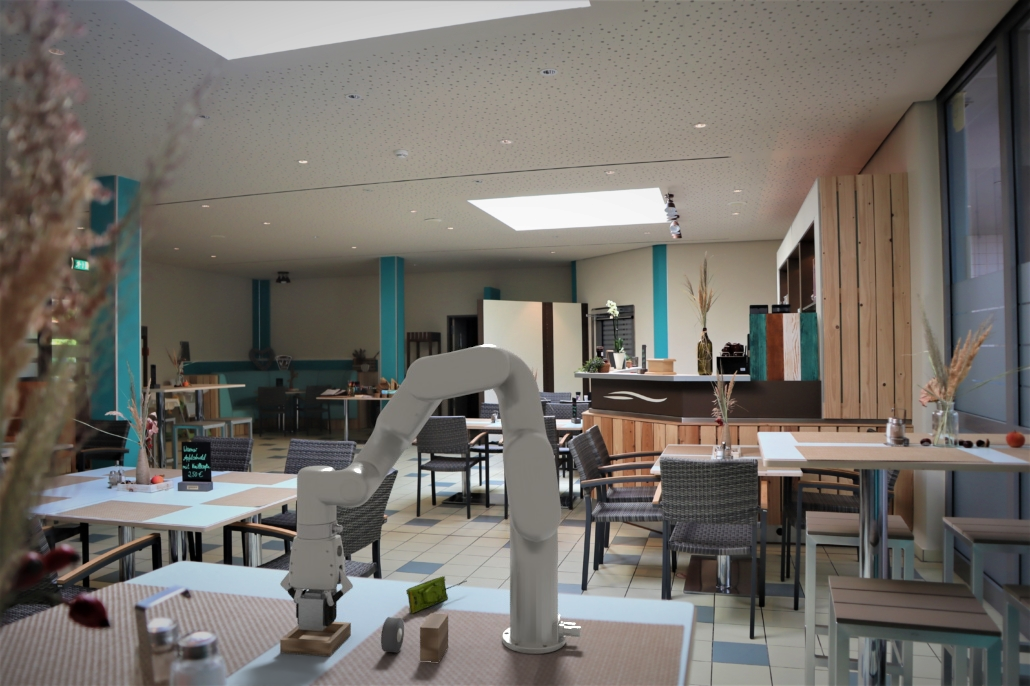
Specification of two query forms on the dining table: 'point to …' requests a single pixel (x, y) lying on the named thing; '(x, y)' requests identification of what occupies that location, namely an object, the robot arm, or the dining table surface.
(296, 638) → the tray
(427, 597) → the toy tank
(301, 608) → the block
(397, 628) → the wheel
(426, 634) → the block
